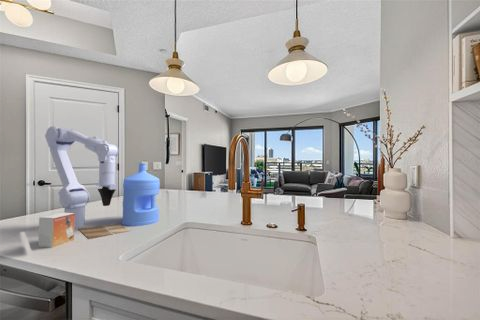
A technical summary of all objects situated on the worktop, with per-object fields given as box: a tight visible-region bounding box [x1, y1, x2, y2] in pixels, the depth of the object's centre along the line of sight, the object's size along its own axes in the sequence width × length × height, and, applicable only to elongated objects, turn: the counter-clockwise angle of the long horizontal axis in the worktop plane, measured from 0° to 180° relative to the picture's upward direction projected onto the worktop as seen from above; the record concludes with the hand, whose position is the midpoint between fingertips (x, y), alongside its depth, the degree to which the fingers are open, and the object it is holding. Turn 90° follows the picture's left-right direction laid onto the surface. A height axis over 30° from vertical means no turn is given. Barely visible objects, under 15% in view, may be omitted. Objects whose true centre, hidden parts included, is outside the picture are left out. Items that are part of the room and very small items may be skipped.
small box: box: [37, 211, 75, 249], centre depth 77 cm, size 8×6×10 cm
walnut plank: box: [77, 225, 114, 240], centre depth 89 cm, size 16×8×1 cm, turn 46°
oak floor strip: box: [101, 222, 132, 235], centre depth 95 cm, size 16×6×1 cm, turn 46°
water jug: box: [121, 162, 161, 227], centre depth 107 cm, size 16×16×28 cm
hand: (106, 205), depth 95 cm, fingers closed
